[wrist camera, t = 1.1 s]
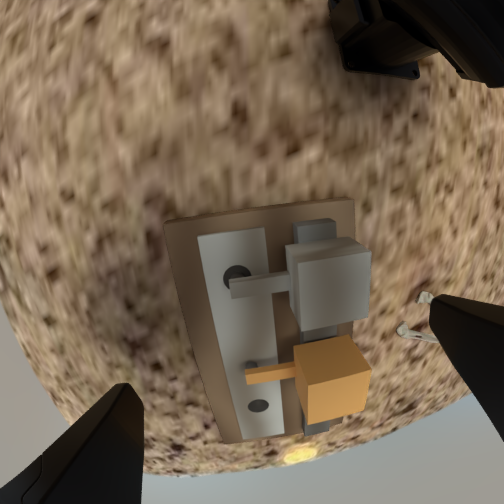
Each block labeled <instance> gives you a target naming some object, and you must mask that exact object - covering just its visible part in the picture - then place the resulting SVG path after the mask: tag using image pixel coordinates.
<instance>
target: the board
mask: <svg viewBox="0 0 504 504" xmlns="http://www.w3.org/2000/svg"><path fill="white" fill-rule="evenodd" d="M163 228H164V233H165V238H166V243H167V248H168V253H169V257H170V262H171V266H172V271H173V275H174V279H175V284H176V288H177V292H178V296H179V300H180V304H181V308H182V312H183V316H184V319H185V323H186V327H187V331H188V334H189V338H190V341H191V345H192V348H193V352H194V355H195V359H196V362H197V365H198V368H199V372H200V375H201V378H202V381H203V384H204V388H205V391H206V394H207V397H208V400H209V403H210V406H211V409H212V411H213V414H214V417H215V420H216V423H217V426H218V428H219V431H220V434H221V437H222V439H223V442H224V444H234V443H243V442H251V441H258V440H265V439H272V438H278V437H283V436H289V435H294V434H299V433H304V436H309V435H314V434H318V433H322V432H326V431H329V427H330V426H333V425H337V424H340V423H342V420H343V416H342V417H338V418H335V419H331V420H327V421H323V422H319V423H315V424H310V425H307V421H306V418H305V415H304V412H303V409H302V406H301V402H300V399H299V396H298V393H297V390H296V387H295V377H292V378H287V379H281V380H275V381H269V382H263V383H257V384H250V385H247V381H246V376H245V369H246V368H245V366H246V364H247V363H249V362H255V363H257V365H258V367H264V366H271V365H276V364H282V363H288V362H293V361H294V348H293V346H295V345H300V344H306V343H311V342H315V341H320V340H325V339H330V338H334V337H338V336H343V335H347V334H349V336H350V337H351V339H352V333H353V321H354V320H359V319H363V318H367V317H368V310H369V296H370V277H371V251H370V250H369V249H367V248H366V247H364V246H363V245H361V244H360V243H358V242H357V241H355V208H354V199H351V198H348V197H341V198H331V199H321V200H312V201H303V202H295V203H286V204H278V205H270V206H262V207H255V208H247V209H240V210H233V211H226V212H219V213H212V214H206V215H199V216H193V217H186V218H180V219H174V220H168V221H166V222H165V223H164V224H163Z"/></svg>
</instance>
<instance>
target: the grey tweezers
mask: <svg viewBox="0 0 504 504" xmlns="http://www.w3.org/2000/svg"><path fill="white" fill-rule="evenodd" d="M433 298H434V296H433V295H432V294H430V293H428V292H424V291H422V292H420V294H419V296H418V298H417V299H416V303H417V304H419V303H429V304H430V303H431V300H432V299H433ZM396 331H397V333H398V334H399V335H400V337H403V338H406V339H409V338H414V339H419V340H424V341H428V342H432V343H439V341H438V340H437V338H436V336H434V335H430V334H426V333H423V332H417V331H413V330H409V329H408V326H407V325H406V322H404V321H402V322H401V323H400V325H399V326H398V327H397V329H396ZM416 335H418V336H422V337H421V338H417V337H415V336H416Z"/></svg>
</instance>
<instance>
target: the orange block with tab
mask: <svg viewBox="0 0 504 504" xmlns="http://www.w3.org/2000/svg"><path fill="white" fill-rule="evenodd" d="M293 348H294V361H293V362H288V363H282V364H276V365H271V366H264V367H258V365H257V363H255V362H249V363H247V364H246V366H245V368H246V369H245V376H246V381H247V385H250V384H257V383H263V382H269V381H275V380H281V379H287V378H292V377H295V387H296V390H297V393H298V396H299V399H300V402H301V406H302V409H303V412H304V415H305V418H306V421H307V425H310V424H315V423H319V422H323V421H327V420H331V419H335V418H338V417H342V416H346V415H349V414H353V413H356V412H359V411H362V410H364V407H365V402H366V398H367V393H368V388H369V383H370V377H371V371H372V369H371V367H370V366H369V364H368V363H367V361H366V360H365V358H364V357H363V355H362V354H361V352H360V351H359V349H358V348H357V346H356V345H355V343H354V342H353V340H352V339H351V337H350V336H349V334H347V335H343V336H338V337H334V338H330V339H325V340H320V341H315V342H311V343H306V344H300V345H295V346H293Z"/></svg>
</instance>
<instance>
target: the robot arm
mask: <svg viewBox="0 0 504 504" xmlns="http://www.w3.org/2000/svg"><path fill="white" fill-rule="evenodd" d="M334 1H336V2H337V3H338V4H337V3H335V2H334ZM328 3H329V7H330V11H331V13H330V14H329V16H330V20H331V25H332V29H333V33H334V38H335V42H336V43H337V44H338V45H339V49H340V54H341V59H342V64H343V67H344V69H345V70H346V71H348V72H355V73H366V74H376V75H384V76H392V77H398V78H405V79H411V80H416V79H418V78H419V77H420V72H419V67H418V63H417V60H419V59H422V58H425V57H427V56H430V55H433V54H435V53H438V52H440V53H441V54H442V55H443V56H444V57H445V58H446V59H447V60H448V61H449V62H450V63H451V65H452V66H453V67H454V68H455V69H456V72H457V73H458V75H459V76H460V77H461V78H462V79H467V80H472V81H478V82H481V83H485V84H486V86H487V87H488V88H504V0H328ZM348 62H349V63H351V64H352V66H353V67H350V66H349V65H348ZM412 71H413V72H414V74H415V76H414V75H413V73H412ZM429 325H430V328H431V330H432V331H433V333H434V335H435V336H436V338H437V340H438V341H439V343H440V344H441V346H442V348H443V349H444V351H445V353H446V355H447V356H448V358H449V360H450V361H451V363H452V364H453V366H454V367H455V369H456V370H457V372H458V373H459V374H460V376H461V377H462V379H463V380H464V381H465V383H466V384H467V386H468V387H469V389H470V390H471V391H472V393H473V394H474V396H475V397H476V399H477V400H478V402H479V403H480V405H481V406H482V408H483V409H484V411H485V412H486V414H487V416H488V417H489V418H490V420H491V422H492V423H493V425H494V427H495V428H496V430H497V432H498V433H499V435H500V437H501V438H502V440H503V442H504V306H499V305H494V304H489V303H485V302H480V301H475V300H470V299H465V298H460V297H456V296H451V295H446V294H441V295H439V296H436V297H434V298H433V299H432V300H431V303H430V315H429ZM143 462H144V406H143V403H142V401H141V399H140V398H139V396H138V395H137V393H136V392H135V390H134V389H133V387H132V386H131V385H130V384H129V383H119V384H116V385H114V386H113V387H112V388H111V389H110V390H109V391H108V392H107V393H106V394H105V395H104V396H103V397H102V398H100V399H99V400H98V401H97V402H96V403H95V404H94V405H93V406H92V407H91V408H90V409H89V410H88V411H87V412H86V413H85V414H83V415H82V416H81V417H80V418H79V419H78V420H77V421H76V422H75V423H74V424H73V425H72V426H71V427H70V428H69V429H68V430H66V431H65V432H64V434H62V435H61V436H60V437H59V438H58V439H57V440H56V441H55V442H54V443H53V444H52V445H51V446H49V447H48V448H47V449H46V450H45V451H44V452H43V453H42V455H40V456H39V457H38V458H37V459H36V460H35V461H33V462H32V463H31V464H30V465H29V466H28V467H27V468H26V469H24V470H23V471H22V472H21V473H20V474H18V475H17V476H16V477H15V478H13V479H12V480H11V481H9V482H8V483H7V484H6V485H4V486H3V487H2V488H0V504H141V494H142V492H141V491H142V476H143Z"/></svg>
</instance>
